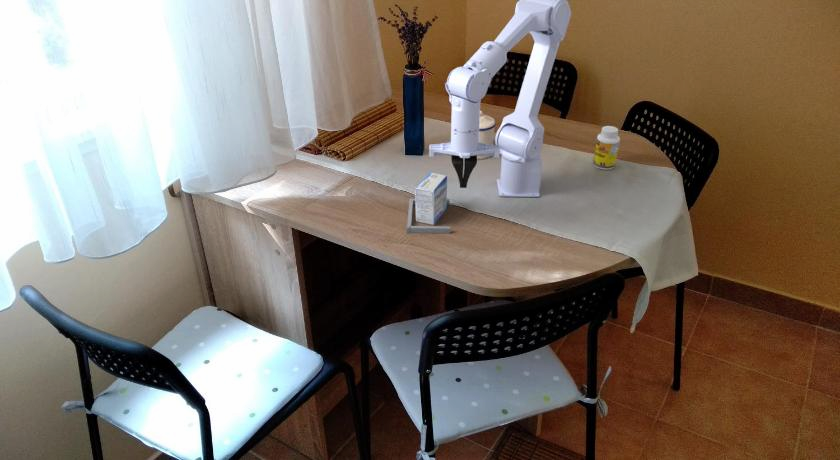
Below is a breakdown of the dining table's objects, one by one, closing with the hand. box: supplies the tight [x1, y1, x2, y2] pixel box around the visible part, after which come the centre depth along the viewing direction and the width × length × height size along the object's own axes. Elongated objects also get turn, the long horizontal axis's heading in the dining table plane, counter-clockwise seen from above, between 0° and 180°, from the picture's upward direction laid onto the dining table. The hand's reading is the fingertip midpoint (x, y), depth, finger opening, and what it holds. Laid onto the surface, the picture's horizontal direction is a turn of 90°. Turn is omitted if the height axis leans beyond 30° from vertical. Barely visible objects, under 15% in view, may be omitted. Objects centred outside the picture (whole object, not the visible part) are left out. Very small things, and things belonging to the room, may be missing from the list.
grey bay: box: [406, 197, 451, 234], centre depth 141 cm, size 9×13×1 cm
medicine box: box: [414, 172, 448, 226], centre depth 139 cm, size 8×4×9 cm, turn 156°
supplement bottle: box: [592, 125, 621, 171], centre depth 159 cm, size 6×6×10 cm
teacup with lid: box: [477, 110, 496, 160], centre depth 167 cm, size 12×9×12 cm
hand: (463, 185), depth 136 cm, fingers closed
